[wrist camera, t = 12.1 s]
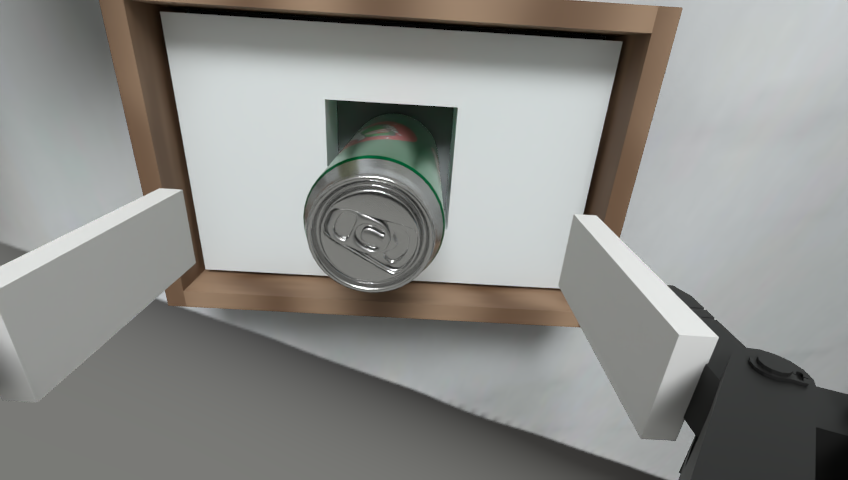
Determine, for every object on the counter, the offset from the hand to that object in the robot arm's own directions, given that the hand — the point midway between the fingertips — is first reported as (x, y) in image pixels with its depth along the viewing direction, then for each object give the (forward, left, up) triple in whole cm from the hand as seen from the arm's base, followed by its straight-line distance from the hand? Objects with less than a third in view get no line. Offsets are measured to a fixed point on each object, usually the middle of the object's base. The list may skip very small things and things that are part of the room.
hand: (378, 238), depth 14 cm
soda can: (0, 0, -12) cm, 12 cm away
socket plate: (0, 0, -12) cm, 12 cm away
